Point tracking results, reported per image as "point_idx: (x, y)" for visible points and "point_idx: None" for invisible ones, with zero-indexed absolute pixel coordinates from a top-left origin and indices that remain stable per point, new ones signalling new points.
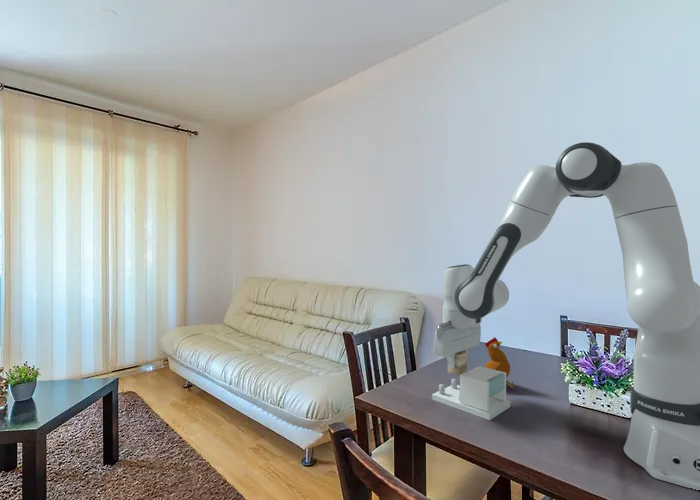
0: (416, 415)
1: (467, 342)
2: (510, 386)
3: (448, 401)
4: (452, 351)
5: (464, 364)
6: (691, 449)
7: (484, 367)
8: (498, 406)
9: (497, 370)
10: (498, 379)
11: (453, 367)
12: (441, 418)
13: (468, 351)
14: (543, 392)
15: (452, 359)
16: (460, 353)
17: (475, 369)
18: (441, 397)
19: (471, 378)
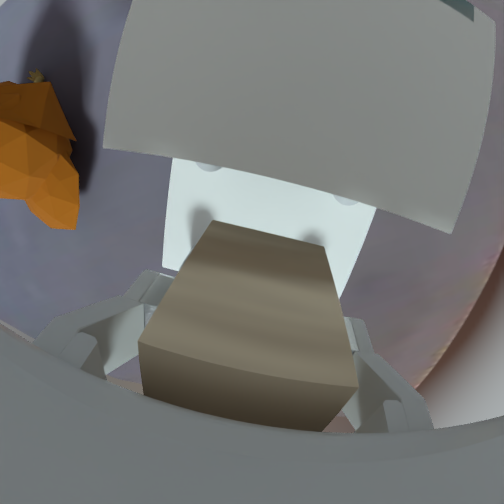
0: (464, 287)
1: (41, 472)
2: (40, 81)
3: (366, 230)
4: (497, 447)
5: (238, 267)
6: None
7: (114, 96)
8: None
9: (15, 113)
10: None
11: (364, 323)
12: (466, 215)
13: (55, 321)
14: (36, 5)
15: (406, 385)
16: (254, 398)
17: (225, 142)
18: (351, 267)
19: (481, 132)
